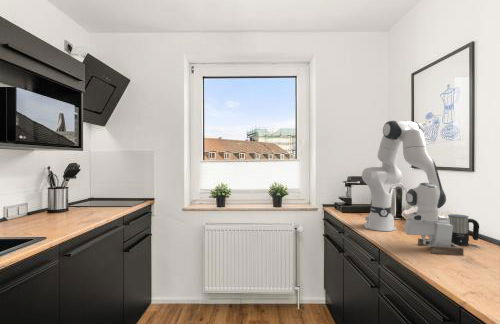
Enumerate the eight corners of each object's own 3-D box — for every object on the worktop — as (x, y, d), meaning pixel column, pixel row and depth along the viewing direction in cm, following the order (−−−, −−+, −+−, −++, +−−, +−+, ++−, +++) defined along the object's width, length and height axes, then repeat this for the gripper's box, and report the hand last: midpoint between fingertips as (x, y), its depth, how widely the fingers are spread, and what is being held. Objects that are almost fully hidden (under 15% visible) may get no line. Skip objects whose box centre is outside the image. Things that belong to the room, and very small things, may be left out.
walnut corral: (417, 244, 161) (418, 238, 161) (445, 245, 160) (445, 239, 160) (432, 253, 145) (432, 247, 145) (463, 254, 144) (463, 248, 144)
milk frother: (454, 245, 160) (455, 216, 160) (436, 238, 176) (436, 211, 176) (482, 246, 160) (482, 217, 160) (460, 238, 176) (461, 212, 176)
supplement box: (450, 251, 149) (453, 225, 148) (434, 249, 149) (437, 223, 149) (442, 247, 156) (445, 222, 156) (427, 245, 157) (430, 220, 156)
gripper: (446, 215, 155) (446, 243, 155) (403, 214, 157) (403, 241, 157) (453, 218, 149) (452, 247, 149) (408, 216, 151) (407, 245, 151)
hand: (426, 244), depth 153 cm, fingers closed
